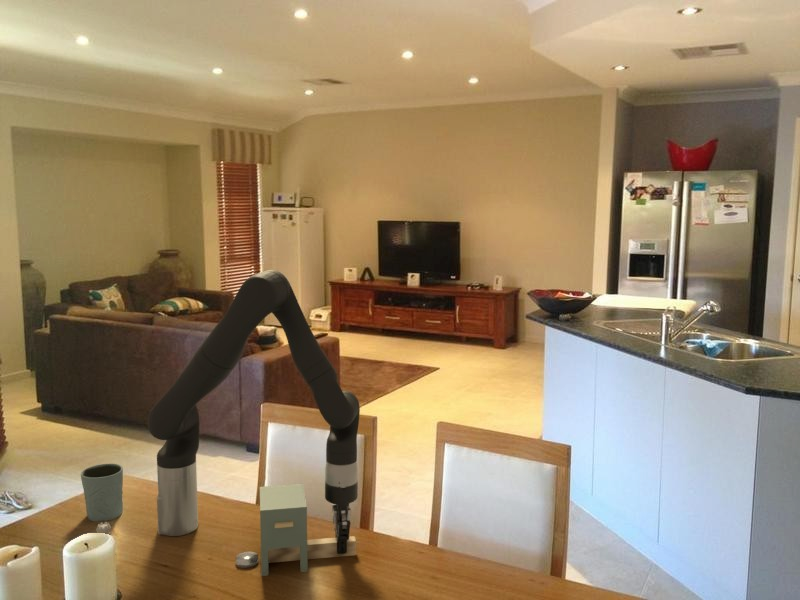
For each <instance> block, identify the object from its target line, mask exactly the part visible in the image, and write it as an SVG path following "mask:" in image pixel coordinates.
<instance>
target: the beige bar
mask: <svg viewBox="0 0 800 600" xmlns="http://www.w3.org/2000/svg"><path fill="white" fill-rule="evenodd" d="M356 555H357V541H356V537H355V535H353V536H351V535H349V540H347V552H346V553H345V554H338V553H337V538H335V537H327V538H326V537H325V538H316V539H314V538H313V539H307V560H314V559H327V558H338V557H339V558H340V557H348V556H349V557H350V556H356ZM293 561H300V546H299V547H288V548H277V549H268V564H271V563H280V562H282V563H283V562H293Z"/></svg>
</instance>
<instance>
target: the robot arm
mask: <svg viewBox="0 0 800 600" xmlns="http://www.w3.org/2000/svg"><path fill="white" fill-rule="evenodd" d="M271 313H272V315H273V316H274V317H275V319H277V322H279V324H280V327H282V330H283V332H284V335H285V337H286V340H287V344H288V348H289V351H290V355H291V358H292V360H293V363H294V365H295V367H296V368H297V371H298V373H299V374H300V375H301V377H302V379H303V380H304V382H305V383H306V385H307V386H308V388H309V389H310V391H311V394H312V395H313V398H314V401H315V404H316V406H317V408H318V410H319V413H320V414H321V416H322V417H323V420H324V421H325V422H326V423H327V424H328V425H329V432H328V433H329V434H328V436H327V438H326V447H325V448H326V449H325V453H326V455H325V458H326V459H325V468H324V499H325V500H326V501H327V502H329V504H330V503H331V510H332V523H333V525H334V528H333V531H334V533H335V537H334V538H337V553H338V554H345V553H346V552H347V540H349V536H350V531H351V529H350V528H351V523H352V522H351V519H350V518H351V514H352V512H351V511H352V510H351V507H350V504H351V503H354V502H355V501H357V499H358V495H359V493H358V491H359V490H358V489H359V482H358V481H359V467H358V442H357V441H358V440H357V439H358V438H357V437H358V429H359V423H360V415H361V414H360V413H361V412H360V410H361V409H360V408H361V407H360V401H359V400H358V398H357V396H356V395H355V394H354V393H353V392H351V391H349V390H342V388H341V386H340V385H339V381H338V377H339V376H338V372H337V370H336V369H335V368H334V365H333V364H332V362H331V361H330V360H329V358H328V357H327V355H326V354H325V352H324V350H323V349H322V347H321V346H320V343H319V342H318V340H317V339H316V336H315V335H314V333H313V331H312V329H311V327H310V325H309V324H308V321H307V319H306V317H305V315H304V312H303V309H302V308H301V306H300V303H299V302H298V299H297V297H296V295H295V292H294V290H293V288H292V285H291V283H290V281H289V280H288V279H287V277H286V276H285V275H284V274H283V273H282V272H281V271H279V270H275V269H268V270H265V271H261V272H258V273H256V274H253V275H251V276H249V277H248V278H246V280H244V282H243V283H242V284H241V286H240V288H239V289H238V291H237V292H236V294H235V296H234V298H233V301H231V304H230V305H229V308H228V309H227V311H226V312H225V314H224V316H223V317H222V318H221V319H220V321H219V322H218V323H217V324H216V325H215V326H214V328H213V329H212V330H211V332H210V333H209V335H207V337H206V338H205V340H203V342H202V343H201V345H200V346H199V347H198V349H197V350H196V352H195V353H194V354H193V356H192V358H191V359H190V360H189V362H188V364H187V365H186V366H185V368H184V369H183V370H182V372H181V373H180V374H179V376H178V377H177V379H176V380H175V382H174V383H173V384H172V386H171V387H170V388H169V389H168V390H167V391H166V393H165V394H164V395H163V396H162V397H161V398H160V399H159V400H158V401H157V402H156V403H155V404H154V406H153V407H152V408H151V409H150V410H149V413H148V417H147V429H148V431H149V433H150V435H151V436H152V437H154V438H155V439H157V440H160V441H165V442H164V444H163V445H162V447H160V449H158V451H157V453H156V465H157V466H156V470H157V472H156V473H157V497H156V511H157V513H156V515H157V532H158V533H157V534H158V535H163V536H169V537H177V536H184V535H189V534H190V533H193V532H194V531H196V530H197V528H198V527H199V515H198V514H199V511H198V503H199V502H198V481H197V478H198V477H197V476H198V474H197V473H198V472H197V453H198V451H199V446H200V413H199V409H198V406H197V404H198V403H199V402H200V401H202V400H203V398H205V397H207V396H208V395H209V394H210V393H211V392H213V391H214V390H215V389H216V388H217V387H218V386H219V385H221V384H222V383H223V382H224V381H225V380H226V379H227V378H228V377H229V375H230V374H231V372H232V371H233V370H234V368H236V366H237V365H238V363H239V362H240V360H241V358H242V355H243V354H244V350H245V347H246V344H247V341H248V339H249V337H250V335H251V334H252V333H253V331H254V330H255V329H256V328H257V327H258V326H259V325H260V323H262V321H263V320H264V319H265V318H266V317H268V315H270V314H271Z"/></svg>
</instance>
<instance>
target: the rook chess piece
mask: <svg viewBox="0 0 800 600" xmlns="http://www.w3.org/2000/svg"><path fill="white" fill-rule="evenodd" d="M111 529H112V526H111V524H110V522H107V521H104V522H100V523H98V524H97V527H96V528H95V531H96V532H97V533H105V534H109V535H110V536H111V534H112V533H111V532H110V530H111Z"/></svg>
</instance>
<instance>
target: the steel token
mask: <svg viewBox="0 0 800 600" xmlns="http://www.w3.org/2000/svg"><path fill="white" fill-rule="evenodd" d="M257 564H259V554H258V553H256V552H255V551H243V552H240V553H238V554H237V555H236V556H235V565H236V566H237V567H238V566H239V567H238V568H241V567H242V568H243V569H247V567H249V568H252V567H256V565H257ZM242 568H241V569H242Z"/></svg>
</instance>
